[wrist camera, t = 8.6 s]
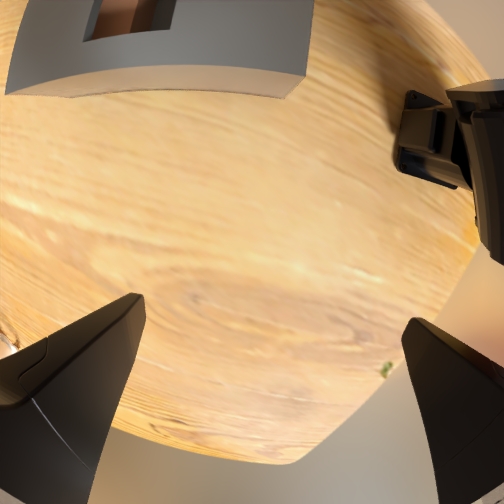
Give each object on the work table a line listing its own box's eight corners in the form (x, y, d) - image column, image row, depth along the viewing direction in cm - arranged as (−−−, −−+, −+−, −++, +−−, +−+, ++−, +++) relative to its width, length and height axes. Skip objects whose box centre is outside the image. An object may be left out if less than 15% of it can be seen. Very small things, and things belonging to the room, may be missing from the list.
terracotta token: (151, -38, 8) (98, -26, 8) (127, 40, 11) (74, 50, 11) (163, -20, 11) (115, -12, 11) (145, 52, 14) (96, 58, 14)
